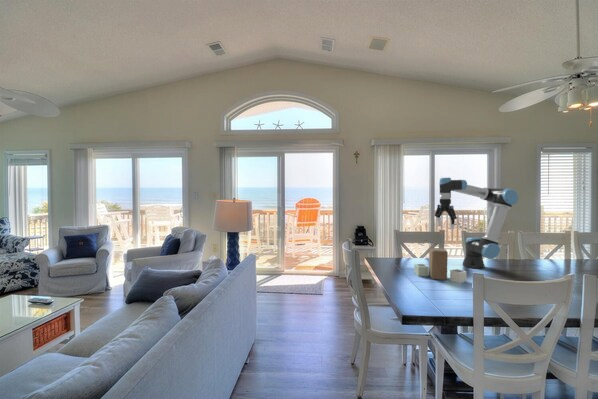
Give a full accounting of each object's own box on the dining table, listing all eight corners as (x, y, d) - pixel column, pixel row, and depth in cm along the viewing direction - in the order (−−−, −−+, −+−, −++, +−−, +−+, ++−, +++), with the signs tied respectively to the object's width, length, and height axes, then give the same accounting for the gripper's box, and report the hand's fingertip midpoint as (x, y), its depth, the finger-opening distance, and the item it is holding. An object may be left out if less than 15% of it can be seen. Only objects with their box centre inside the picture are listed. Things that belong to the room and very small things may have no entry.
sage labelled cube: (423, 273, 227) (423, 263, 226) (428, 276, 220) (428, 266, 219) (414, 273, 226) (414, 263, 226) (418, 276, 219) (418, 266, 219)
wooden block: (447, 280, 210) (448, 251, 209) (431, 279, 212) (432, 250, 211) (443, 276, 220) (444, 248, 219) (428, 275, 222) (429, 247, 220)
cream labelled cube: (456, 278, 214) (456, 268, 213) (466, 281, 207) (466, 271, 207) (450, 280, 210) (450, 269, 210) (459, 283, 204) (459, 272, 204)
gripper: (429, 198, 237) (429, 225, 238) (453, 199, 213) (453, 230, 214) (438, 197, 239) (438, 224, 240) (462, 199, 215) (462, 229, 216)
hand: (445, 227), depth 227 cm, fingers open, 13 cm apart
